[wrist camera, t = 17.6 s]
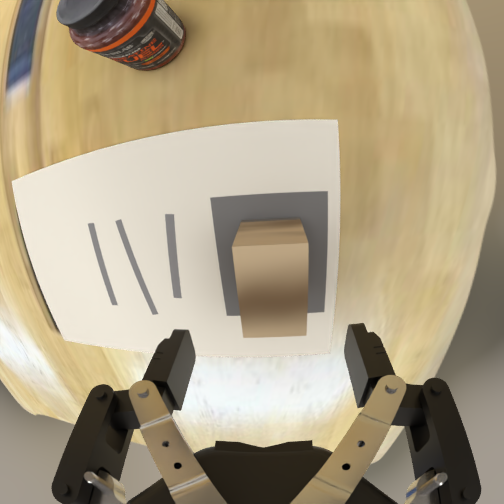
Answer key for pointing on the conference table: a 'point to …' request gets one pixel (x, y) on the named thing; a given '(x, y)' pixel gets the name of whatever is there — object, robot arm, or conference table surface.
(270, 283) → the block
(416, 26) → the conference table surface
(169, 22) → the supplement bottle
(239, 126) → the board
